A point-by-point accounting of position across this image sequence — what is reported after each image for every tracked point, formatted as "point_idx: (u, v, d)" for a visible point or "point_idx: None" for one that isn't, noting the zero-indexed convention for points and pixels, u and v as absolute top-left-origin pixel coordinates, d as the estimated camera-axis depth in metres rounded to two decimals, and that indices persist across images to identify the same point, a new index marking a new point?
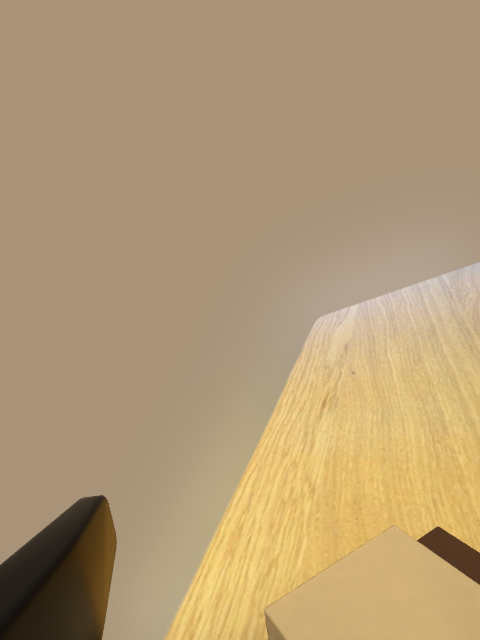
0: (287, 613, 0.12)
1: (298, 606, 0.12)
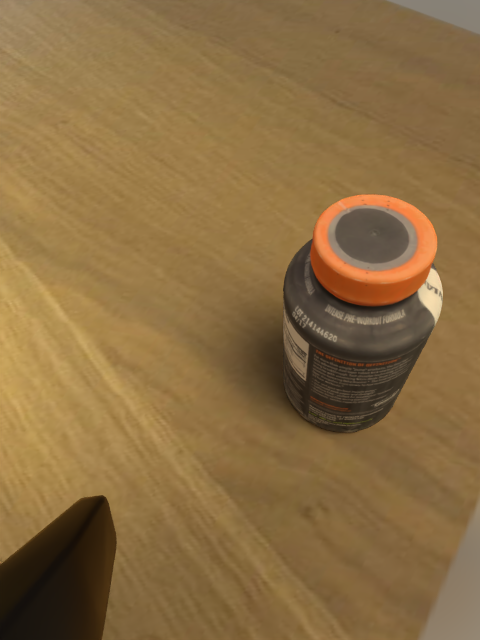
0: None
1: None
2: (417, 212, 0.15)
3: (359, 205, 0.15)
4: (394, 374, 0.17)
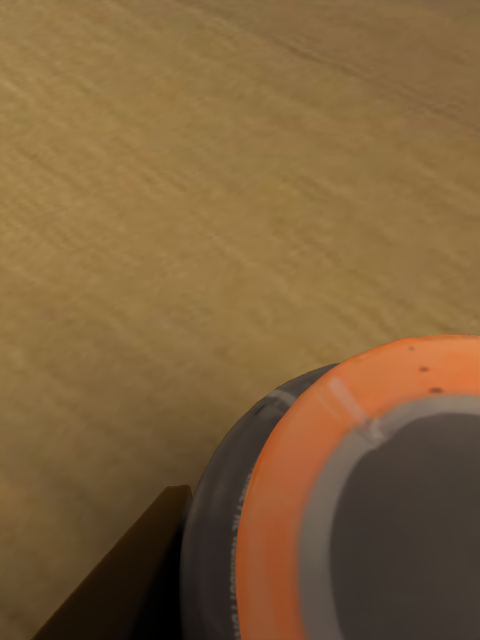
0: None
1: None
2: None
3: (417, 396, 0.04)
4: None
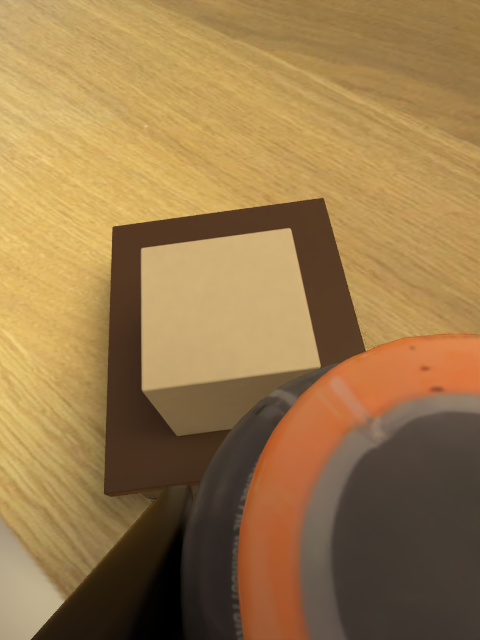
0: (159, 374, 0.13)
1: (159, 362, 0.13)
2: None
3: (417, 396, 0.04)
4: None
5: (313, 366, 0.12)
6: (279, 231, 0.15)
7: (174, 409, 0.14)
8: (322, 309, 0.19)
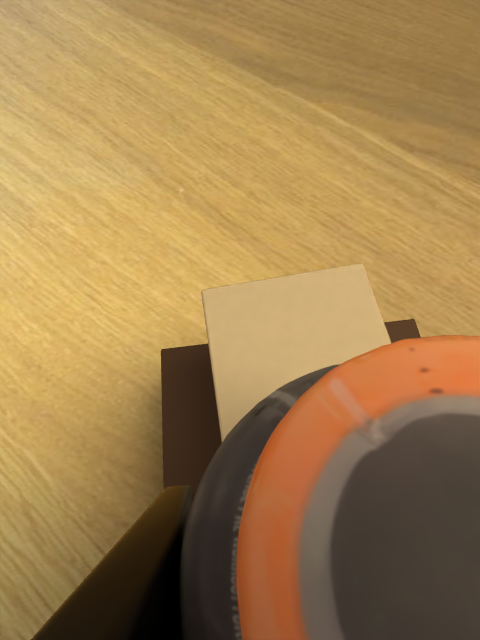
0: None
1: None
2: None
3: (416, 397, 0.04)
4: None
5: None
6: (351, 267, 0.14)
7: None
8: None
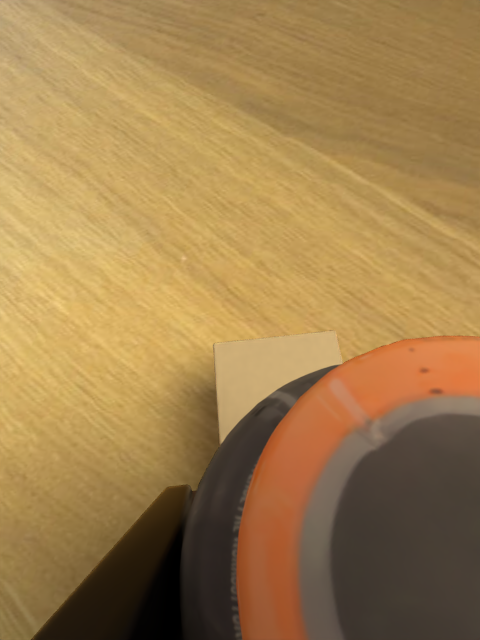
0: None
1: None
2: None
3: (417, 397, 0.04)
4: None
5: (331, 332, 0.18)
6: None
7: (230, 384, 0.17)
8: None
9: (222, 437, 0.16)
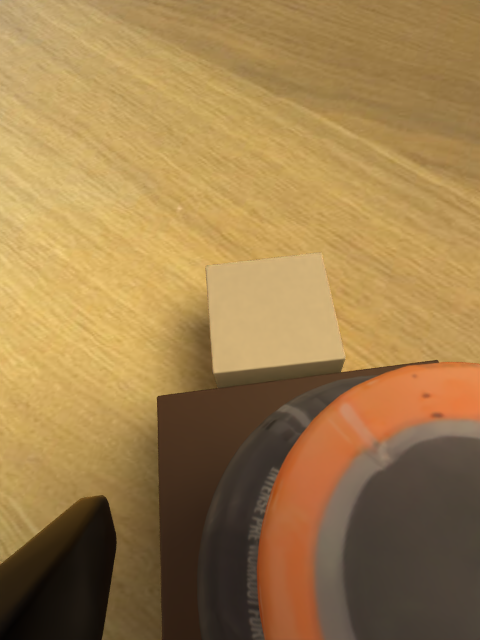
0: None
1: None
2: None
3: (420, 421, 0.04)
4: None
5: (317, 253, 0.19)
6: None
7: (221, 300, 0.18)
8: None
9: (213, 345, 0.17)
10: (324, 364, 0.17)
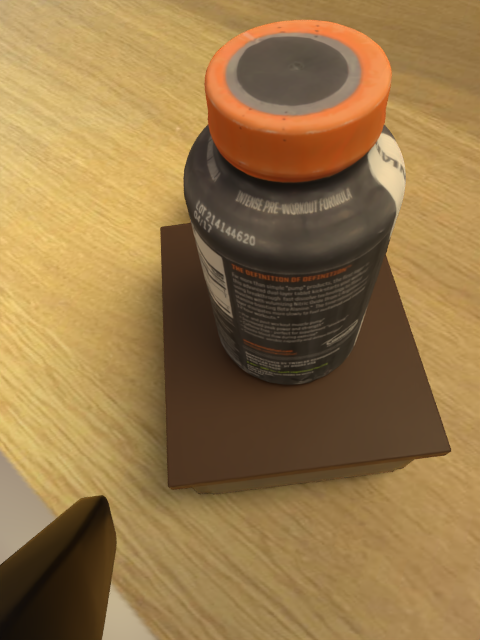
0: None
1: None
2: (360, 35, 0.10)
3: (274, 33, 0.10)
4: (346, 294, 0.12)
5: None
6: None
7: None
8: (372, 308, 0.19)
9: None
10: None
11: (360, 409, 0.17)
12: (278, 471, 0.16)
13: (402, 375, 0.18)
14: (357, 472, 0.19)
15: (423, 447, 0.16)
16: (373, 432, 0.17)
